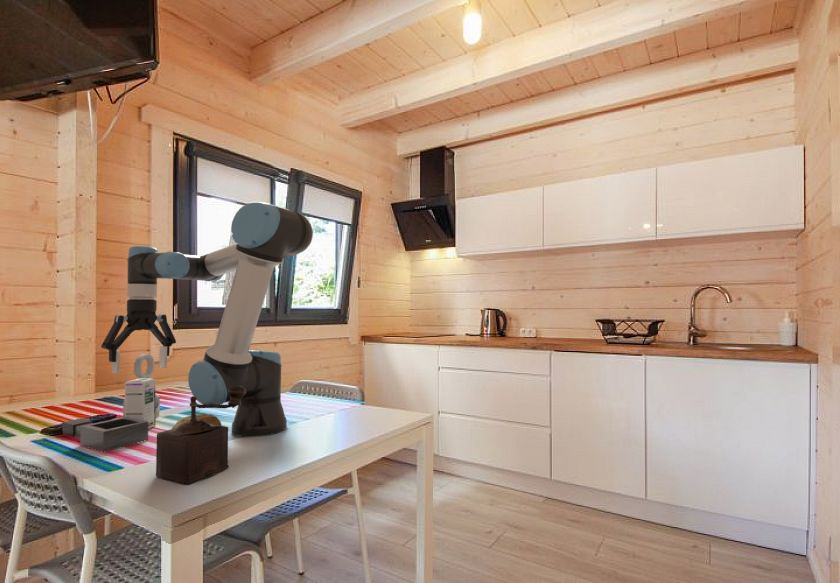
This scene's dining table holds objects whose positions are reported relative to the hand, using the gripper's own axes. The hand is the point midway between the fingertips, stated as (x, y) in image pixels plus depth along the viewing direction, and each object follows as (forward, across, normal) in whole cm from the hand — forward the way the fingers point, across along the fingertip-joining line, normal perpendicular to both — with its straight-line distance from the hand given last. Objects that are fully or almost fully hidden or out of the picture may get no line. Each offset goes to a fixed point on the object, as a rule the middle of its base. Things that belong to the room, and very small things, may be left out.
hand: (140, 370), depth 132 cm
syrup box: (+17, 0, 0) cm, 17 cm away
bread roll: (+17, +2, +30) cm, 34 cm away
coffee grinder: (+17, +12, +46) cm, 51 cm away
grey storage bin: (+17, +11, 0) cm, 20 cm away
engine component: (+18, -8, -12) cm, 23 cm away
